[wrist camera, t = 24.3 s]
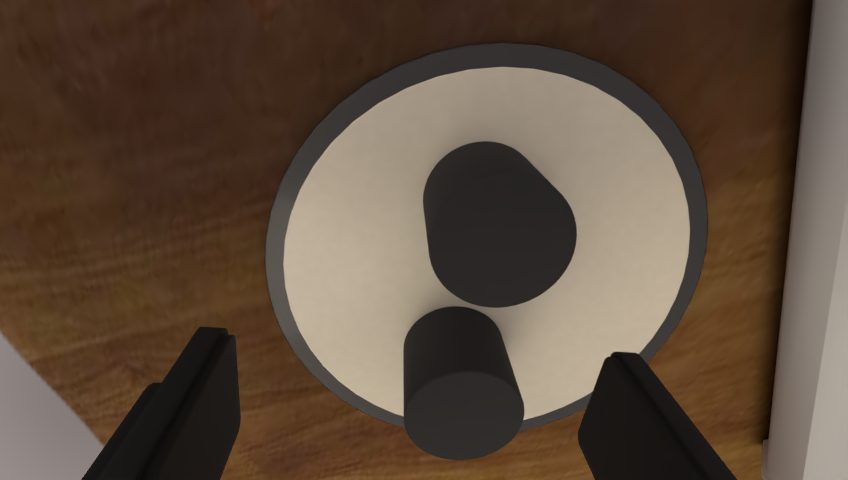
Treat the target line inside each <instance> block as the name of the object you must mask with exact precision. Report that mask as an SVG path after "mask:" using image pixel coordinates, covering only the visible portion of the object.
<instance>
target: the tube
mask: <svg viewBox="0 0 848 480" xmlns="http://www.w3.org/2000/svg"><path fill="white" fill-rule="evenodd" d="M761 479H762V480H848V0H813V3H812V13H811V23H810V33H809V43H808V53H807V62H806V72H805V82H804V92H803V102H802V112H801V122H800V132H799V142H798V152H797V162H796V172H795V181H794V191H793V201H792V211H791V221H790V231H789V241H788V251H787V261H786V271H785V281H784V291H783V300H782V310H781V320H780V330H779V340H778V350H777V360H776V370H775V380H774V390H773V400H772V410H771V419H770V429H769V438H768V439H767V440H763V444H762V471H761Z"/></svg>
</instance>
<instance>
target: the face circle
mask: <svg viewBox="0 0 848 480" xmlns="http://www.w3.org/2000/svg"><path fill="white" fill-rule="evenodd" d="M481 141H491V142H497V143H502V144H505V145H508V146H510V147H512V148H514V149H515V150H517V151H518V152H520V153H521V154H522V155H523V156H524V157H525V158H527V159H528V160H529V162H530V163H531V164H532V165H533V166H534V167H535V168H536V169H537V170H538V171H539V172H540V173H541V174H542V175H543V176H544V177H545V178H546V179H547V180H548V181H549V182H550V183H551V184H552V185H553V186H554V187H555V188H556V189H557V190H558V191H559V192H560V193H561V194H562V195H563V197H564V198H565V199H566V200H567V202H568V204H569V205H570V207H571V209H572V211H573V214H574V217H575V221H576V226H577V240H576V247H575V251H574V254H573V257H572V260H571V262H570V264H569V266H568V267H567V269H566V271H565V272H564V274H563V275H562V276H561V277H560V279H559V280H558V281H557V282H556V283H555V284H554V285H553V286H552V287H551V288H549V289H548V290H547V291H545V292H544V293H543V294H541V295H539V296H538V297H536V298H534V299H532V300H530V301H527V302H525V303H522V304H519V305H515V306H510V307H501V308H489V307H482V306H477V305H474V304H471V303H468V302H465V301H463V300H461V299H460V298H458V297H456V296H455V295H453V294H452V293H451V292H449V291H448V290H447V289H446V288H445V287H444V286H443V285H442V283H441V282H440V281H439V279H438V278H437V276H436V274H435V273H434V270H433V268H432V265H431V262H430V257H429V250H428V242H427V234H426V225H425V217H424V209H423V193H424V188H425V184H426V182H427V179H428V177H429V175H430V173H431V171H432V170H433V168H434V167H435V165H436V164H437V163H438V162H439V161H440V160H441V159H442V158H443V157H444V156H446V155H447V154H448V153H450V152H451V151H453V150H454V149H456V148H458V147H460V146H463V145H466V144H469V143H473V142H481ZM707 231H708V218H707V203H706V196H705V191H704V187H703V182H702V178H701V173H700V171H699V168H698V166H697V163H696V161H695V158H694V156H693V153H692V151H691V148H690V146H689V145H688V143H687V141H686V140H685V138H684V136H683V135H682V133H681V132H680V130H679V128H678V127H677V125H676V123H675V122H674V121H673V120H672V119H671V117H670V116H669V115H668V114H667V113H666V112H665V111H664V109H663V108H662V107H661V106H660V105H659V104H658V102H657V101H656V100H655V99H653V98H652V97H651V96H650V95H649V94H647V93H646V92H645V91H644V90H643V89H641V88H640V87H639V86H638V85H636V84H635V83H634V82H633V81H632V80H630V79H628V78H626V77H625V76H623V75H621V74H619V73H618V72H616V71H614V70H613V69H611V68H609V67H607V66H606V65H604V64H601V63H599V62H596V61H594V60H591V59H588V58H586V57H583V56H581V55H578V54H576V53H573V52H569V51H564V50H559V49H555V48H550V47H546V46H541V45H532V44H517V43H502V42H499V43H486V44H473V45H464V46H459V47H455V48H450V49H446V50H442V51H437V52H433V53H429V54H427V55H424V56H421V57H419V58H416V59H413V60H411V61H408V62H405V63H403V64H400V65H398V66H396V67H394V68H392V69H390V70H389V71H387V72H385V73H383V74H381V75H379V76H378V77H376V78H374V79H372V80H370V81H368V82H367V83H366V84H364V85H363V86H362V87H360V88H359V89H358V90H356V91H355V92H354V93H352V94H351V95H350V96H348V97H347V98H346V99H344V100H343V101H341V102H340V103H339V104H338V105H337V106H336V107H335V108H334V109H333V110H332V111H331V112H330V113H329V114H328V115H327V116H326V117H325V118H324V119H323V120H322V121H321V122H320V123H319V124H318V125H317V126H316V128H315V129H314V130H313V131H312V133H311V134H310V135H309V137H308V138H307V139H306V141H305V142H304V143H303V145H302V146H301V147H300V149H299V150H298V151H297V153H296V154H295V156H294V158H293V160H292V162H291V164H290V165H289V167H288V169H287V171H286V173H285V175H284V176H283V178H282V180H281V183H280V186H279V188H278V191H277V194H276V197H275V199H274V202H273V205H272V208H271V212H270V217H269V222H268V227H267V232H266V245H265V269H266V278H267V287H268V291H269V295H270V299H271V303H272V306H273V310H274V313H275V315H276V318H277V320H278V323H279V325H280V327H281V330H282V332H283V334H284V336H285V337H286V339H287V341H288V342H289V344H290V346H291V347H292V349H293V351H294V352H295V354H296V355H297V357H298V358H299V359H300V360H301V361H302V363H303V364H304V365H305V366H306V368H307V369H308V370H309V371H310V373H311V374H313V375H314V376H315V377H316V378H317V379H318V380H319V381H320V382H321V383H322V384H323V385H324V386H325V387H326V388H327V389H329V390H330V391H331V392H333V393H334V394H335V395H337V396H338V397H339V398H341V399H342V400H343V401H345V402H346V403H348V404H350V405H352V406H353V407H355V408H357V409H359V410H360V411H362V412H364V413H366V414H368V415H370V416H372V417H375V418H377V419H379V420H382V421H384V422H386V423H389V424H393V425H396V426H399V427H402V428H405V426H404V388H403V348H404V341H405V338H406V335H407V333H408V331H409V330H410V328H411V327H412V326H413V324H414V323H415V322H416V321H417V320H419V319H420V318H421V317H423V316H424V315H426V314H428V313H429V312H432V311H434V310H437V309H440V308H445V307H453V306H460V307H468V308H472V309H475V310H477V311H480V312H482V313H484V314H485V315H487V316H488V317H489V318H491V319H492V320H493V321H494V322H495V324H496V325H497V326H498V328H499V330H500V332H501V335H502V338H503V341H504V344H505V347H506V350H507V354H508V357H509V360H510V363H511V366H512V369H513V372H514V375H515V378H516V381H517V384H518V387H519V390H520V393H521V396H522V399H523V402H524V409H525V410H524V419H523V423H522V425H521V428H520V429H519V431H523V430H527V429H531V428H534V427H538V426H541V425H545V424H548V423H551V422H553V421H556V420H559V419H561V418H564V417H567V416H569V415H571V414H573V413H575V412H577V411H580V410H582V409H584V408H586V407H587V406H588V403H589V401H590V398H591V395H592V392H593V390H594V387H595V384H596V381H597V379H598V376H599V373H600V370H601V368H602V365H603V362H604V360H605V358H607V357H610V356H611V354H612V353H613V352H632V353H638V354H639V355H640V356H641V357H642V358H643V359H644V361H645V362H646V363H647V362H648V361H649V360H650V359H651V358H652V357H653V356H654V355H655V353H656V352H657V351H658V350H659V349H660V348H661V346H662V345H663V344H664V343H665V342H666V340H667V339H668V337H669V336H670V335H671V333H672V332H673V330H674V329H675V327H676V326H677V324H678V323H679V321H680V320H681V318H682V316H683V314H684V312H685V310H686V308H687V306H688V304H689V303H690V301H691V298H692V296H693V293H694V290H695V288H696V285H697V282H698V280H699V277H700V274H701V269H702V265H703V261H704V256H705V252H706V242H707Z"/></svg>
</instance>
